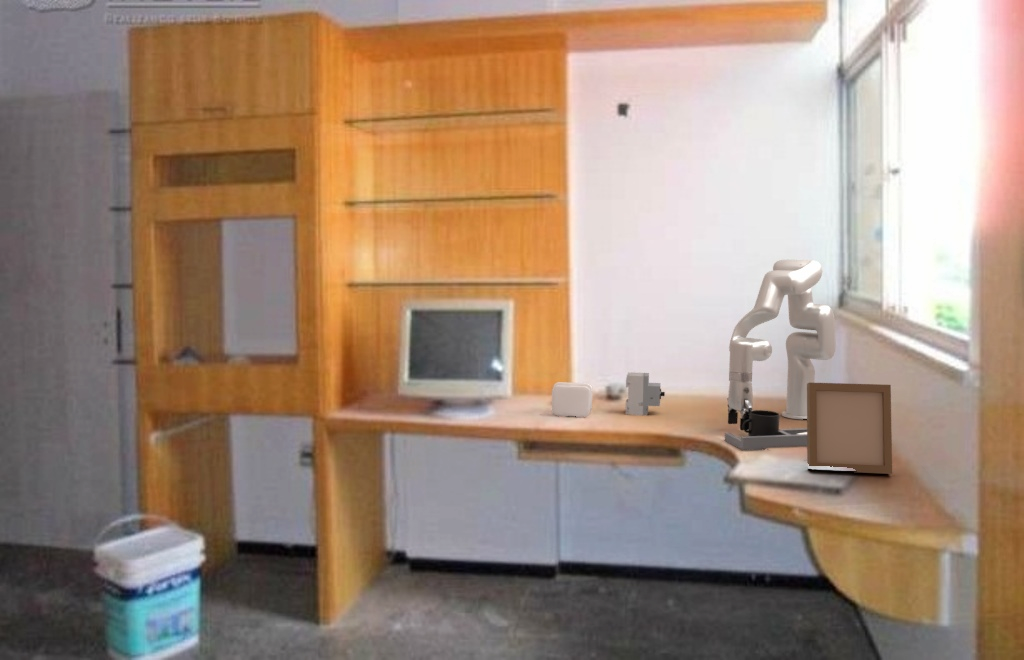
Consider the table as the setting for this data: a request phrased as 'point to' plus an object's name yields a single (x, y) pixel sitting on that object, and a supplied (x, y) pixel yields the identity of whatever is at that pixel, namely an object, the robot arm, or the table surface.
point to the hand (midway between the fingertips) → (738, 426)
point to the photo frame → (849, 426)
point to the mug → (762, 423)
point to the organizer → (769, 440)
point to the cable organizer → (571, 399)
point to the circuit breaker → (641, 393)
